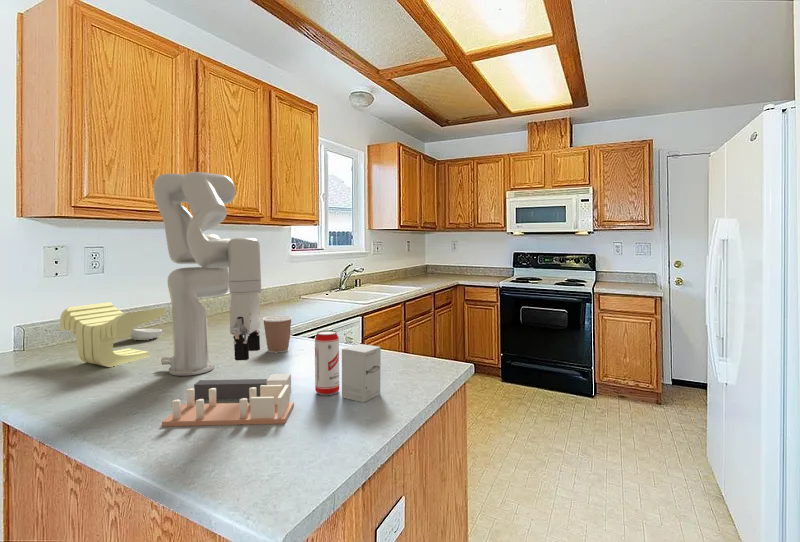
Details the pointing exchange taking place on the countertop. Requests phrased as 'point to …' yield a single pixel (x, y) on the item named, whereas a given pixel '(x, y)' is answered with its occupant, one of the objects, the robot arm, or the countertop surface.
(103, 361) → the slatted curved stool
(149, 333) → the spoon rest
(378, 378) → the supplement box
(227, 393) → the grey post with base
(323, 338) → the beer can
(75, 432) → the countertop surface
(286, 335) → the coffee cup
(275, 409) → the orange peg rack
